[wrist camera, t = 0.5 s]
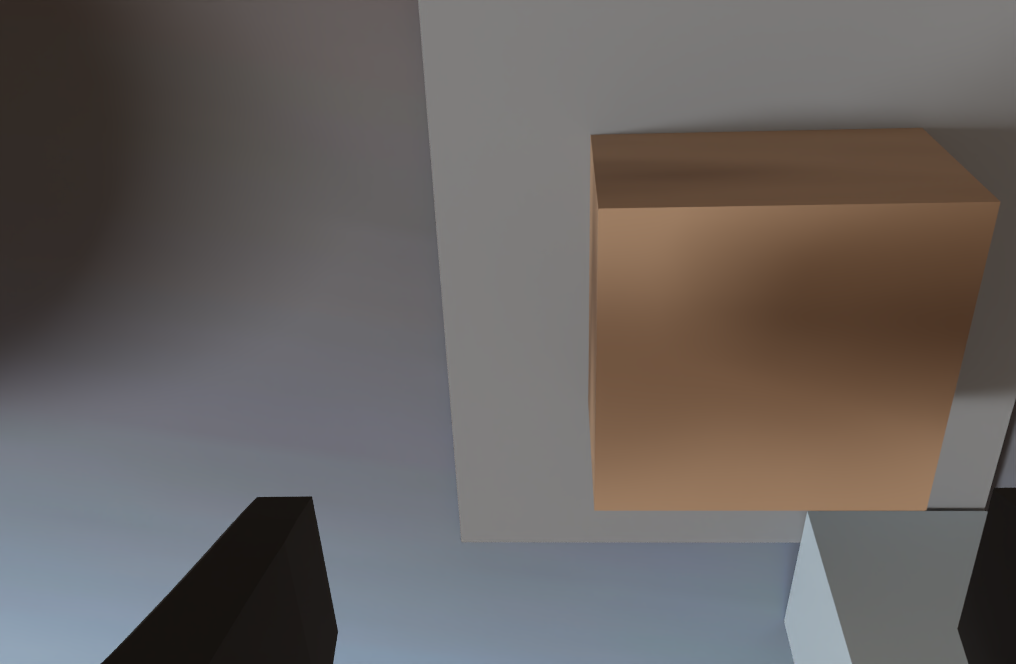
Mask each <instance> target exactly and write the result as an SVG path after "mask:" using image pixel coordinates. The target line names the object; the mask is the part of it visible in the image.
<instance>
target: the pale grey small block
mask: <svg viewBox="0 0 1016 664" xmlns="http://www.w3.org/2000/svg"><path fill="white" fill-rule="evenodd" d="M987 513H988V512H987V511H807V515H806V520H805V524H804V529H803V534H802V539H801V543H800V548H799V553H798V558H797V562H796V567H795V572H794V577H793V582H792V586H791V591H790V596H789V601H788V605H787V610H786V615H785V620H784V622H785V627H786V631H787V635H788V639H789V643H790V648H791V652H792V656H793V660H794V664H968V661H967V658H966V655H965V652H964V648H963V645H962V642H961V639H960V636H959V633H958V630H957V628H958V624H959V620H960V617H961V613H962V609H963V605H964V601H965V597H966V594H967V590H968V586H969V582H970V578H971V574H972V571H973V567H974V563H975V559H976V555H977V551H978V547H979V544H980V540H981V536H982V532H983V528H984V524H985V521H986V517H987Z"/></svg>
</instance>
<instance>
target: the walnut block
mask: <svg viewBox="0 0 1016 664" xmlns="http://www.w3.org/2000/svg"><path fill="white" fill-rule="evenodd" d="M999 206H1000V201H999V200H998V199H997V198H996V197H995V196H994V195H993V194H992V193H991V192H990V191H989V190H988V189H986V188H985V187H984V186H983V185H982V184H981V183H980V182H979V181H978V180H977V179H976V178H975V177H974V176H973V175H972V174H971V173H970V172H968V171H967V170H966V169H965V168H964V167H963V166H962V165H961V164H960V163H959V162H958V161H957V160H956V159H955V158H954V157H953V156H952V155H950V154H949V153H948V152H947V151H946V150H945V149H944V148H943V147H942V146H941V145H940V144H939V143H938V142H937V141H936V140H935V139H933V138H932V137H931V136H930V135H929V134H928V133H927V132H926V131H925V130H924V129H923V128H887V129H840V130H792V131H745V132H698V133H650V134H603V135H590V254H589V374H588V407H589V425H590V443H591V461H592V478H593V496H594V511H926V510H927V506H928V501H929V497H930V493H931V489H932V485H933V481H934V477H935V472H936V468H937V464H938V460H939V456H940V452H941V447H942V443H943V439H944V435H945V431H946V427H947V422H948V418H949V414H950V410H951V406H952V402H953V398H954V393H955V389H956V385H957V381H958V377H959V373H960V368H961V364H962V360H963V356H964V352H965V348H966V344H967V339H968V335H969V331H970V327H971V323H972V319H973V314H974V310H975V306H976V302H977V298H978V294H979V290H980V285H981V281H982V277H983V273H984V269H985V265H986V260H987V256H988V252H989V248H990V244H991V240H992V236H993V231H994V227H995V223H996V219H997V215H998V211H999Z"/></svg>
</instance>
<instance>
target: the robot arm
mask: <svg viewBox="0 0 1016 664" xmlns="http://www.w3.org/2000/svg"><path fill="white" fill-rule="evenodd" d="M957 630H958V633H959V636H960V639H961V642H962V645H963V648H964V652H965V655H966V658H967V661H968V664H1016V488H994V490H993V494H992V498H991V501H990V505H989V509H988V513H987V517H986V521H985V524H984V528H983V532H982V536H981V540H980V544H979V547H978V551H977V555H976V559H975V563H974V567H973V571H972V574H971V578H970V582H969V586H968V590H967V594H966V597H965V601H964V605H963V609H962V613H961V617H960V620H959V624H958V628H957ZM337 634H338V629H337V624H336V619H335V614H334V609H333V603H332V598H331V593H330V588H329V583H328V577H327V572H326V567H325V562H324V557H323V551H322V546H321V541H320V536H319V531H318V525H317V520H316V515H315V510H314V505H313V500H312V497H257V498H256V499H255V500H254V501H253V502H252V503H251V504H250V505H249V506H248V507H247V508H246V509H245V510H244V511H243V512H242V513H241V514H240V516H239V517H238V518H237V519H236V520H235V521H234V522H233V523H232V524H231V525H230V526H229V528H228V529H227V530H226V531H225V532H224V533H223V534H222V535H221V536H220V538H219V539H218V540H217V541H216V542H215V543H214V544H213V545H212V546H211V548H210V549H209V550H208V551H207V552H206V553H205V554H204V555H203V556H202V558H201V559H200V560H199V561H198V562H197V563H196V564H195V565H194V566H193V567H192V569H191V570H190V571H189V572H188V573H187V574H186V575H185V576H184V577H183V578H182V580H181V581H180V582H179V583H178V584H177V585H176V586H175V587H174V588H173V589H172V590H171V592H170V593H169V594H168V595H167V596H166V597H165V598H164V599H163V600H162V601H161V602H160V603H159V604H158V605H157V606H156V607H155V608H154V609H153V611H152V612H151V613H150V614H149V615H148V616H147V617H146V618H145V619H144V620H143V621H142V622H141V623H140V624H139V625H138V626H137V627H136V628H135V629H134V631H133V632H132V633H131V634H130V635H129V636H128V637H127V638H126V639H125V640H124V641H123V642H122V643H121V644H120V645H119V646H118V647H117V648H116V649H115V650H114V651H113V652H112V653H111V654H110V655H109V656H108V657H107V658H106V659H105V660H104V661H103V662H102V663H101V664H333V660H334V654H335V647H336V641H337Z"/></svg>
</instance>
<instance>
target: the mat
mask: <svg viewBox="0 0 1016 664" xmlns="http://www.w3.org/2000/svg"><path fill="white" fill-rule="evenodd" d="M418 4H419V17H420V29H421V42H422V54H423V67H424V79H425V92H426V105H427V117H428V130H429V142H430V155H431V167H432V180H433V192H434V205H435V217H436V230H437V243H438V255H439V268H440V280H441V293H442V305H443V318H444V330H445V343H446V355H447V368H448V380H449V393H450V406H451V418H452V431H453V443H454V456H455V468H456V481H457V493H458V506H459V518H460V531H461V542H684V543H801V539H802V534H803V529H804V524H805V520H806V515H807V511H594V496H593V478H592V461H591V443H590V425H589V407H588V374H589V254H590V135H603V134H650V133H698V132H745V131H792V130H840V129H887V128H923V129H924V130H925V131H926V132H927V133H928V134H929V135H930V136H931V137H932V138H933V139H935V140H936V141H937V142H938V143H939V144H940V145H941V146H942V147H943V148H944V149H945V150H946V151H947V152H948V153H949V154H950V155H952V156H953V157H954V158H955V159H956V160H957V161H958V162H959V163H960V164H961V165H962V166H963V167H964V168H965V169H966V170H967V171H968V172H970V173H971V174H972V175H973V176H974V177H975V178H976V179H977V180H978V181H979V182H980V183H981V184H982V185H983V186H984V187H985V188H986V189H988V190H989V191H990V192H991V193H992V194H993V195H994V196H995V197H996V198H997V199H998V200H999V201H1000V206H999V211H998V215H997V219H996V223H995V227H994V231H993V236H992V240H991V244H990V248H989V252H988V256H987V260H986V265H985V269H984V273H983V277H982V281H981V285H980V290H979V294H978V298H977V302H976V306H975V310H974V314H973V319H972V323H971V327H970V331H969V335H968V339H967V344H966V348H965V352H964V356H963V360H962V364H961V368H960V373H959V377H958V381H957V385H956V389H955V393H954V398H953V402H952V406H951V410H950V414H949V418H948V422H947V427H946V431H945V435H944V439H943V443H942V447H941V452H940V456H939V460H938V464H937V468H936V472H935V477H934V481H933V485H932V489H931V493H930V497H929V501H928V506H927V510H926V511H984V510H985V506H986V502H987V499H988V495H989V492H990V488H991V485H992V481H993V478H994V474H995V470H996V467H997V463H998V460H999V456H1000V453H1001V449H1002V445H1003V442H1004V438H1005V435H1006V431H1007V428H1008V424H1009V420H1010V417H1011V413H1012V410H1013V406H1014V403H1015V399H1016V0H418Z"/></svg>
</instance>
